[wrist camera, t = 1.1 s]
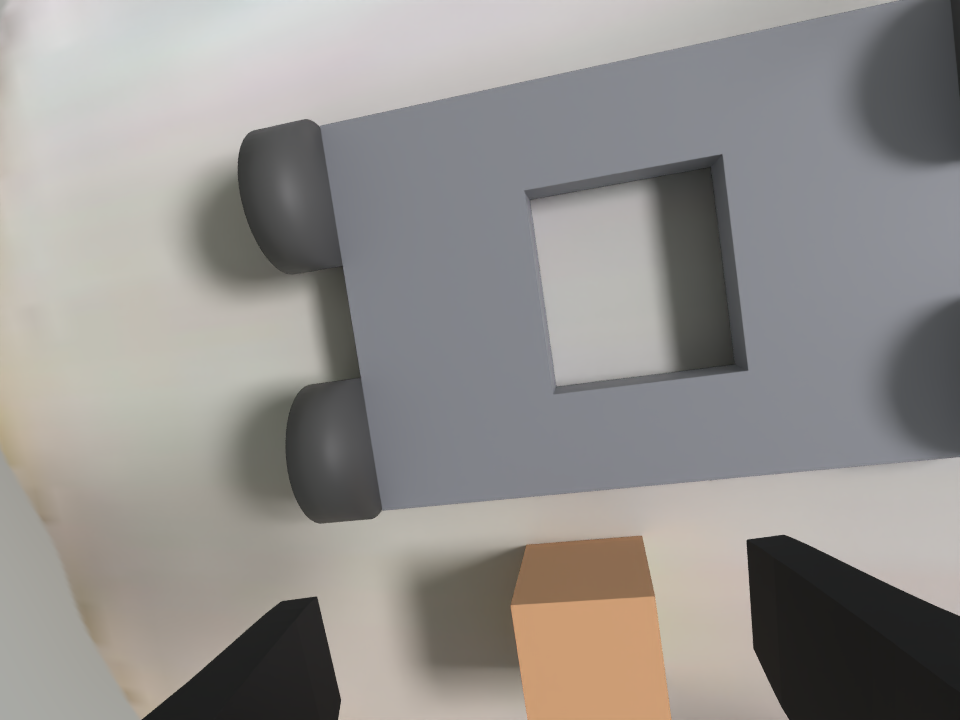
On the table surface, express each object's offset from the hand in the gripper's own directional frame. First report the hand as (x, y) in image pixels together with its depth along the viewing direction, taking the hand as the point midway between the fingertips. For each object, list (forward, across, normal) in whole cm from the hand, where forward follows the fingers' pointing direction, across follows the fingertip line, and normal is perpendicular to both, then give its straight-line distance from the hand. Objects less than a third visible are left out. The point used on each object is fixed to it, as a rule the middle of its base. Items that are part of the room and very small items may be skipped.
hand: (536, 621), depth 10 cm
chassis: (+14, -5, -4) cm, 15 cm away
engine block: (+12, -2, +8) cm, 15 cm away
